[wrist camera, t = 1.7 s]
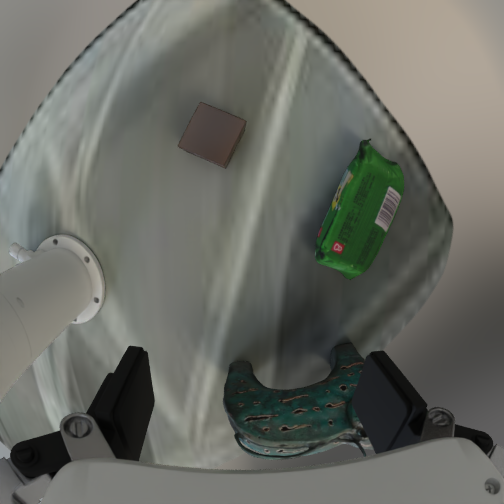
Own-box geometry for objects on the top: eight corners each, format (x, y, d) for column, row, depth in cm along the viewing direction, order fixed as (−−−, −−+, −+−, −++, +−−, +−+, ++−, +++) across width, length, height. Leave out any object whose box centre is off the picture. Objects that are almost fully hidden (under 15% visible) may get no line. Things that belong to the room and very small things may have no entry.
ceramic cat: (362, 333, 37) (434, 430, 18) (358, 368, 39) (415, 465, 20) (222, 353, 37) (216, 479, 17) (229, 388, 38) (228, 506, 19)
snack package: (396, 166, 32) (419, 165, 27) (349, 276, 35) (365, 291, 30) (351, 139, 31) (370, 133, 26) (300, 256, 34) (311, 269, 29)
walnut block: (186, 151, 30) (177, 146, 25) (205, 112, 29) (200, 101, 24) (225, 168, 31) (223, 166, 26) (245, 129, 30) (246, 121, 25)
